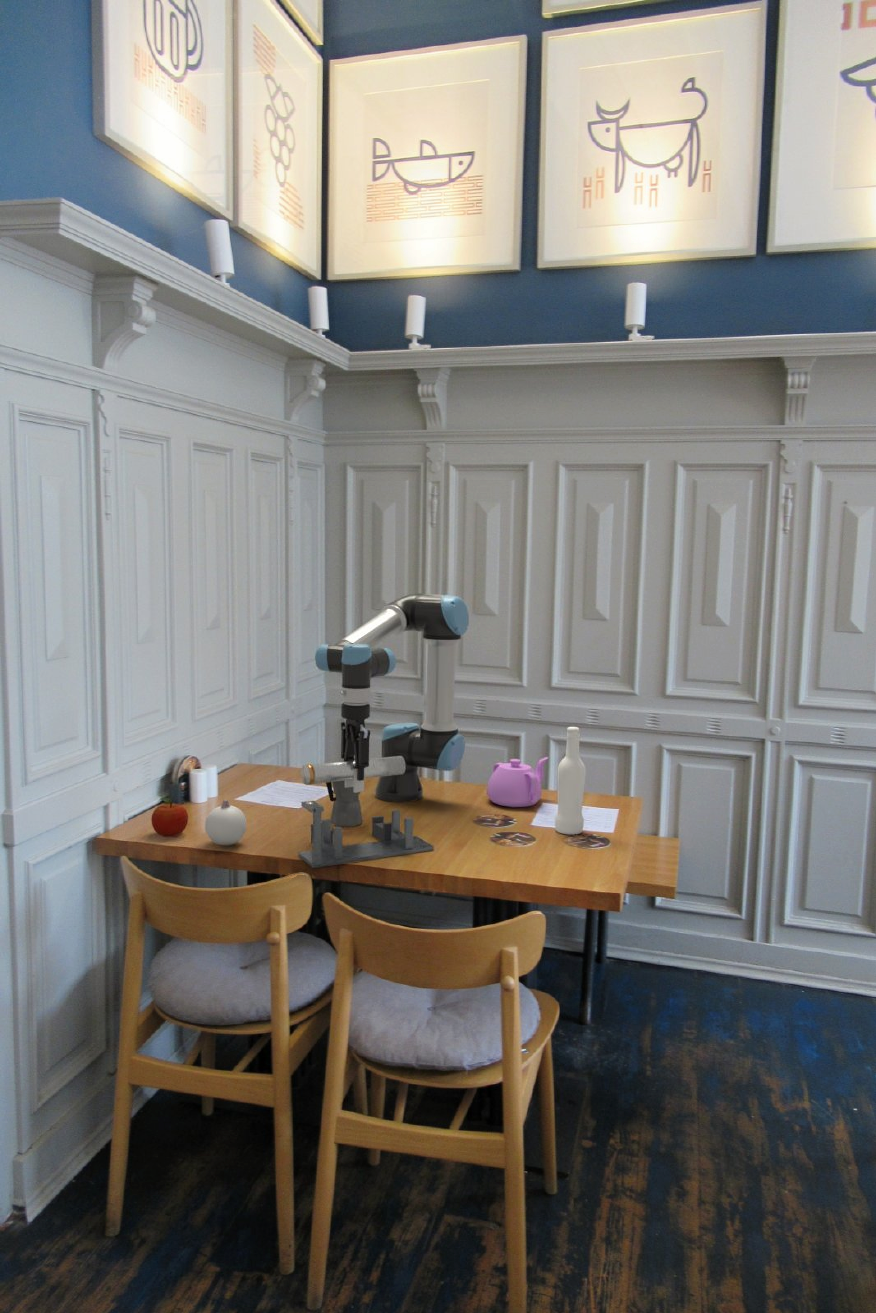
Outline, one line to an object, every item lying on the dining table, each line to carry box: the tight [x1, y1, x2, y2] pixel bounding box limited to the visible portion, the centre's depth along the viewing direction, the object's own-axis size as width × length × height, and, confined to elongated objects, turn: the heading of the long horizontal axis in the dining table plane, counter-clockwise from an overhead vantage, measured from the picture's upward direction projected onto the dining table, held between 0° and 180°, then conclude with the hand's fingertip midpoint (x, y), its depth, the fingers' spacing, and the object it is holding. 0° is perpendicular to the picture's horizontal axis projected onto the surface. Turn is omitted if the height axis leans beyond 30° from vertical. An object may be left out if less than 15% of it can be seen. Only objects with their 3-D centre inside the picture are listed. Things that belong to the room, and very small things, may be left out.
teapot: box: [486, 756, 549, 809], centre depth 300 cm, size 22×22×14 cm
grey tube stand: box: [297, 800, 435, 869], centre depth 244 cm, size 35×10×15 cm, turn 120°
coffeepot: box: [325, 781, 363, 828], centre depth 271 cm, size 15×9×18 cm, turn 145°
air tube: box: [300, 756, 406, 786], centre depth 252 cm, size 28×5×5 cm, turn 120°
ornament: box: [204, 799, 247, 846], centre depth 249 cm, size 10×10×12 cm
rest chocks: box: [310, 815, 392, 846], centre depth 254 cm, size 21×8×5 cm, turn 120°
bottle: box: [554, 726, 587, 836], centre depth 269 cm, size 8×8×30 cm
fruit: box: [151, 797, 189, 838], centre depth 256 cm, size 10×10×10 cm
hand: (354, 789), depth 253 cm, fingers closed on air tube, 5 cm apart
